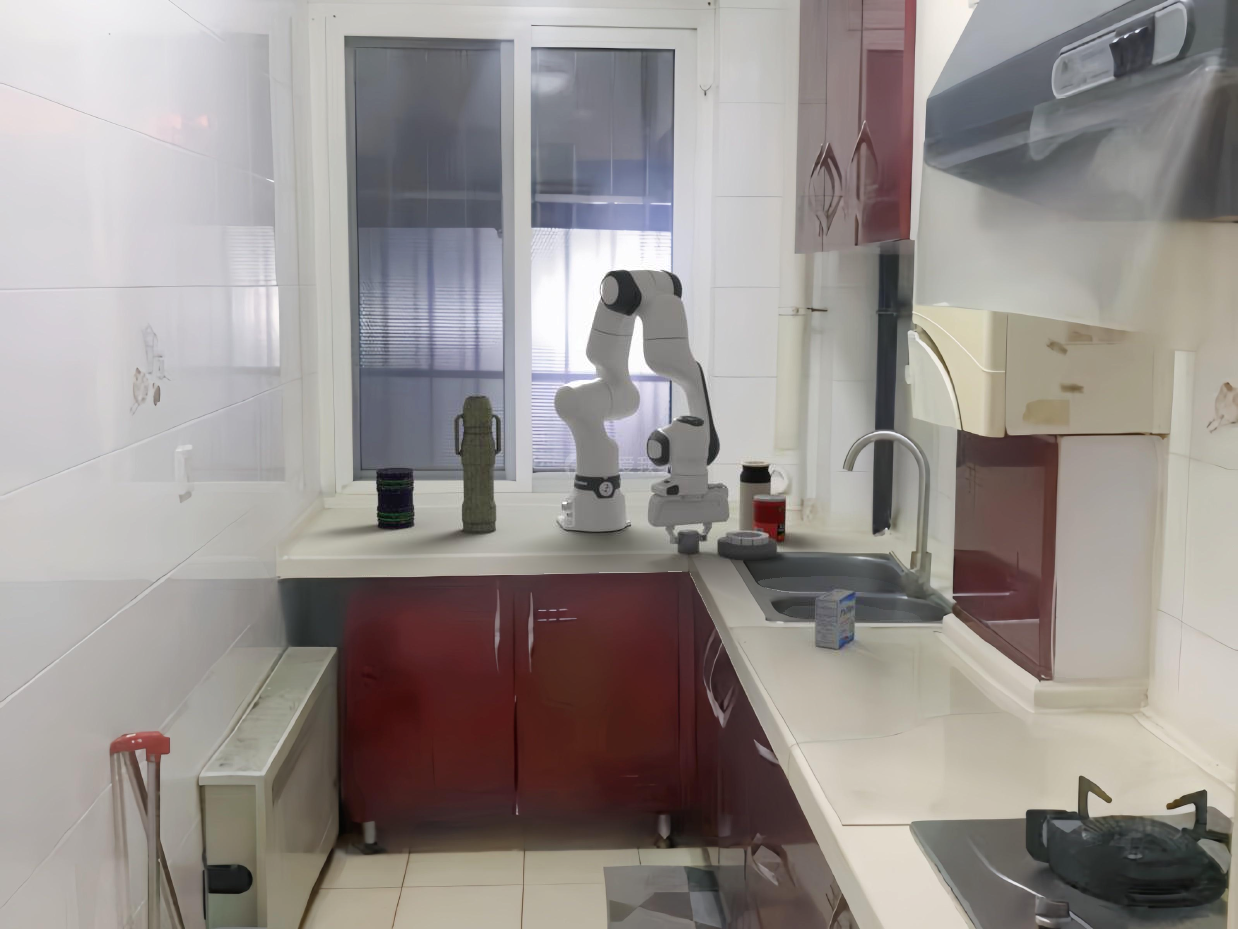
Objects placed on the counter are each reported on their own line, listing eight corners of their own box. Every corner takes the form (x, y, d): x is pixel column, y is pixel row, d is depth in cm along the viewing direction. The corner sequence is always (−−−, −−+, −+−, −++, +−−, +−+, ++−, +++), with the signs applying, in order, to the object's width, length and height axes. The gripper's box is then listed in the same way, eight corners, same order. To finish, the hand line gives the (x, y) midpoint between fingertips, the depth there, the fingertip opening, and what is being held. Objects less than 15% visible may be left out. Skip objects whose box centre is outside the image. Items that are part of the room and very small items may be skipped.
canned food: (784, 543, 278) (785, 499, 277) (751, 542, 280) (752, 498, 278) (785, 537, 286) (786, 494, 284) (754, 536, 287) (755, 493, 286)
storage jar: (422, 525, 301) (421, 469, 299) (396, 531, 293) (395, 474, 291) (395, 521, 306) (393, 466, 304) (369, 526, 298) (367, 471, 296)
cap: (673, 550, 270) (673, 530, 269) (693, 548, 272) (693, 528, 272) (683, 554, 265) (683, 533, 265) (703, 553, 267) (703, 532, 267)
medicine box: (838, 650, 191) (839, 600, 190) (813, 646, 194) (815, 597, 193) (854, 639, 198) (856, 591, 197) (830, 635, 200) (832, 587, 199)
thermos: (506, 531, 292) (505, 396, 288) (462, 535, 288) (460, 398, 283) (496, 525, 300) (494, 394, 296) (453, 528, 296) (450, 395, 291)
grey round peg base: (707, 549, 271) (707, 531, 270) (758, 545, 276) (758, 527, 275) (734, 562, 258) (735, 542, 257) (787, 556, 263) (788, 538, 263)
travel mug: (732, 530, 294) (733, 462, 292) (754, 527, 299) (755, 459, 297) (754, 535, 288) (755, 465, 286) (776, 531, 293) (777, 463, 291)
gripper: (722, 480, 273) (721, 536, 275) (645, 485, 266) (644, 543, 268) (734, 484, 268) (733, 541, 270) (656, 489, 260) (655, 548, 262)
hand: (688, 542), depth 268 cm, fingers open, 6 cm apart
